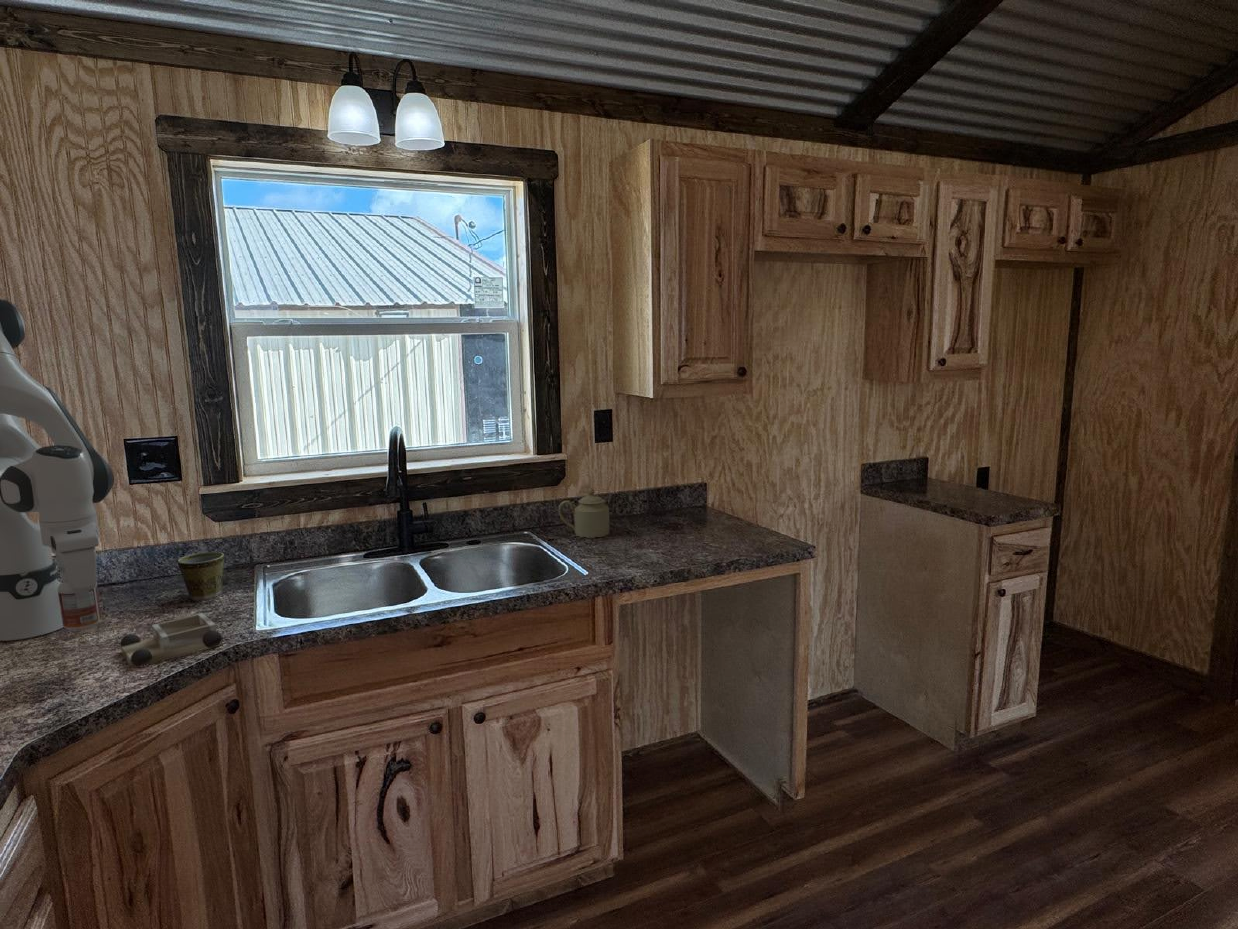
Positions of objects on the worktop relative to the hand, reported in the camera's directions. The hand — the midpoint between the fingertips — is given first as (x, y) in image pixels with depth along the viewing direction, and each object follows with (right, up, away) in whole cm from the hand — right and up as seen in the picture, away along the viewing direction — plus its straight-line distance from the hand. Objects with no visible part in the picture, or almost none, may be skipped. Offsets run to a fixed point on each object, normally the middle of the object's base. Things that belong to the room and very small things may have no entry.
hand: (79, 601), depth 144 cm
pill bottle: (0, -5, +1) cm, 5 cm away
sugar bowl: (+93, +4, +93) cm, 132 cm away
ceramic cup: (-1, -7, +44) cm, 44 cm away
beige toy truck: (+12, -12, +11) cm, 20 cm away
